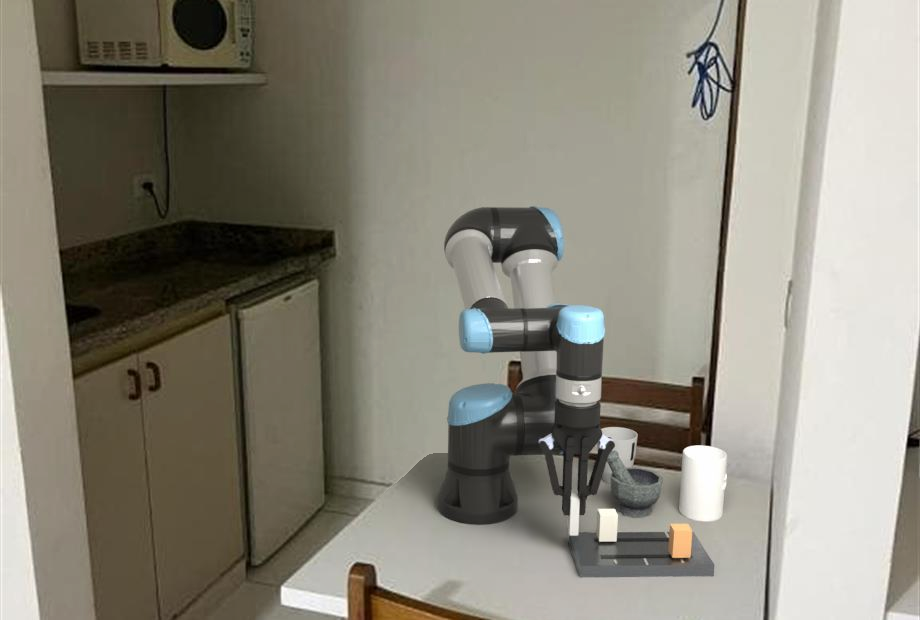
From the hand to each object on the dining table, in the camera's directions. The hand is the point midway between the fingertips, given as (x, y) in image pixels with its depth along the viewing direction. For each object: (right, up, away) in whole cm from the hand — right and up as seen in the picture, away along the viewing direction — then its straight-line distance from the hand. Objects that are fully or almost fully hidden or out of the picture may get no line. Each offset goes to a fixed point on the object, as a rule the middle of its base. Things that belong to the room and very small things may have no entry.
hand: (572, 531), depth 157 cm
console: (+11, -4, -1) cm, 12 cm away
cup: (+13, +3, +32) cm, 34 cm away
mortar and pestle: (+13, 0, +17) cm, 22 cm away
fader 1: (+6, -1, +1) cm, 6 cm away
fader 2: (+17, -3, -5) cm, 18 cm away
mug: (+26, 0, +19) cm, 32 cm away
